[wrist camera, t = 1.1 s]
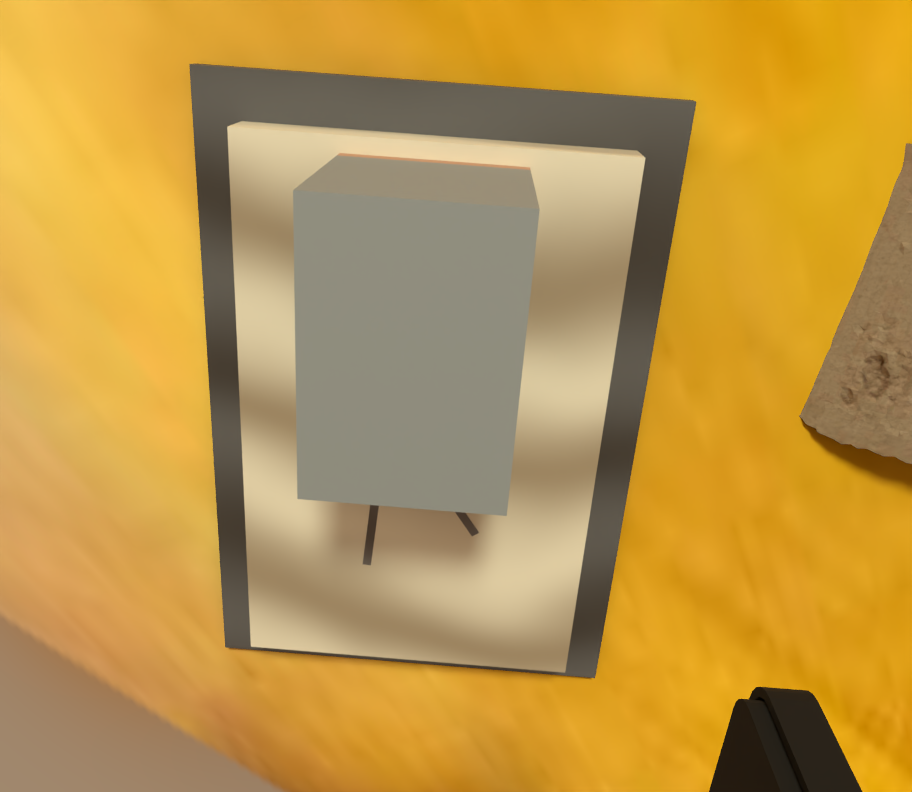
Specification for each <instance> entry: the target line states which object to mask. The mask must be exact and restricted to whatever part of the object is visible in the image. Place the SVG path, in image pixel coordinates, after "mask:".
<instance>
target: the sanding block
mask: <svg viewBox="0 0 912 792" xmlns="http://www.w3.org/2000/svg"><path fill="white" fill-rule="evenodd" d="M539 211H540V208H539V204H538V199H537V195H536V191H535V187H534V183H533V178H532V174H531V170H530V167H520V166H507V165H494V164H480V163H467V162H454V161H441V160H427V159H414V158H401V157H387V156H374V155H361V154H347V153H339V154H338V155H337V156H335V157H334V158H333V159H332V160H330V161H329V162H328V163H327V164H325V165H324V166H323V167H322V168H320V169H319V170H318V171H316V172H315V173H314V174H313V175H311V176H310V177H309V178H308V179H306V180H305V181H304V182H303V183H301V184H300V185H299V186H298V187H296V188H295V189H294V190H293V225H294V295H295V365H296V435H297V499H303V500H316V501H328V502H340V503H353V504H365V505H377V506H390V507H402V508H414V509H426V510H439V511H451V512H463V513H476V514H488V515H500V516H507V509H508V500H509V490H510V481H511V472H512V462H513V453H514V444H515V434H516V425H517V416H518V406H519V397H520V388H521V379H522V369H523V360H524V351H525V341H526V332H527V323H528V313H529V304H530V295H531V285H532V276H533V267H534V258H535V248H536V239H537V230H538V220H539Z"/></svg>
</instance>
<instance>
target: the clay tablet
mask: <svg viewBox="0 0 912 792" xmlns="http://www.w3.org/2000/svg"><path fill="white" fill-rule="evenodd" d="M800 417H801V418H802V419H803V421H804V422H805V424H807V425H809V426H811V427H813V428H816V430H817V432H818V433H820V434H823V435H825V436H827V437H829V438H832V439H834V440H835V441H837V442H839V443H840V444H851V445H853V446H854V447H856V448H857V449H861V448H864V449H868V450H870V451H872V452H874V453H876V454H880V455H882V456H894V457H896V458H898V459H899V460H901V461H904V462H905V463H910V464H912V144H907V143H906V148H905V157H904V162H903V167H902V170H901V172H900V174H899V177H898V179H897V181H896V183H895V186H894V189H893V192H892V195H891V197H890V201H889V204H888V207H887V209H886V212H885V214H884V217H883V220H882V222H881V225H880V227H879V229H878V232H877V234H876V236H875V238H874V241H873V243H872V246H871V249H870V251H869V254H868V257H867V260H866V262H865V265H864V268H863V271H862V273H861V275H860V278H859V280H858V283H857V285H856V288H855V290H854V292H853V295H852V297H851V299H850V301H849V303H848V306H847V308H846V310H845V312H844V315H843V317H842V319H841V322H840V323H839V326H838V328H837V331H836V333H835V336H834V338H833V341H832V344H831V348H830V350H829V352H828V353H827V355H826V357H825V360H824V362H823V365H822V367H821V369H820V371H819V374H818V376H817V378H816V381H815V383H814V386H813V389H812V391H811V393H810V395H809V398H808V400H807V402H806V404H805V406H804V408H803V410H802V413H801V415H800Z"/></svg>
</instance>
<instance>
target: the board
mask: <svg viewBox="0 0 912 792" xmlns="http://www.w3.org/2000/svg"><path fill="white" fill-rule="evenodd" d="M190 80H191V96H192V112H193V128H194V145H195V161H196V177H197V193H198V210H199V226H200V242H201V258H202V275H203V291H204V307H205V323H206V340H207V356H208V372H209V388H210V405H211V421H212V437H213V453H214V470H215V486H216V502H217V519H218V535H219V551H220V567H221V584H222V600H223V616H224V632H225V647H228V648H240V649H252V650H264V651H276V652H288V653H300V654H312V655H324V656H336V657H348V658H360V659H373V660H385V661H397V662H409V663H421V664H433V665H445V666H457V667H469V668H481V669H493V670H505V671H517V672H530V673H542V674H554V675H566V676H578V677H590V678H595V675H596V669H597V664H598V658H599V652H600V647H601V641H602V635H603V630H604V624H605V618H606V613H607V607H608V601H609V595H610V590H611V584H612V578H613V573H614V567H615V561H616V556H617V550H618V544H619V539H620V533H621V527H622V521H623V516H624V510H625V504H626V499H627V493H628V487H629V482H630V476H631V470H632V465H633V459H634V453H635V447H636V442H637V436H638V430H639V425H640V419H641V413H642V408H643V402H644V396H645V391H646V385H647V379H648V373H649V368H650V362H651V356H652V351H653V345H654V339H655V334H656V328H657V322H658V317H659V311H660V305H661V299H662V294H663V288H664V282H665V277H666V271H667V265H668V260H669V254H670V248H671V243H672V237H673V231H674V226H675V220H676V214H677V208H678V203H679V197H680V191H681V186H682V180H683V174H684V169H685V163H686V157H687V152H688V146H689V140H690V134H691V129H692V123H693V117H694V112H695V106H696V101H693V100H681V99H668V98H654V97H641V96H627V95H614V94H600V93H586V92H573V91H559V90H546V89H532V88H519V87H505V86H491V85H478V84H464V83H451V82H437V81H424V80H410V79H396V78H383V77H369V76H356V75H342V74H329V73H315V72H302V71H288V70H274V69H261V68H247V67H234V66H220V65H207V64H190ZM339 153H347V154H361V155H374V156H387V157H401V158H414V159H427V160H441V161H454V162H467V163H480V164H494V165H507V166H520V167H530V170H531V174H532V178H533V183H534V187H535V191H536V195H537V199H538V204H539V208H540V211H539V220H538V230H537V239H536V248H535V258H534V267H533V276H532V285H531V295H530V304H529V313H528V323H527V332H526V341H525V351H524V360H523V369H522V379H521V388H520V397H519V406H518V416H517V425H516V434H515V444H514V453H513V462H512V472H511V481H510V490H509V500H508V509H507V516H500V515H488V514H476V513H463V512H451V511H439V510H426V509H414V508H402V507H390V506H377V505H365V504H353V503H340V502H328V501H316V500H303V499H297V435H296V365H295V295H294V225H293V190H294V189H295V188H296V187H298V186H299V185H300V184H301V183H303V182H304V181H305V180H306V179H308V178H309V177H310V176H311V175H313V174H314V173H315V172H316V171H318V170H319V169H320V168H322V167H323V166H324V165H325V164H327V163H328V162H329V161H330V160H332V159H333V158H334V157H335V156H337V155H338V154H339Z"/></svg>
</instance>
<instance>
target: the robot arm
mask: <svg viewBox="0 0 912 792" xmlns="http://www.w3.org/2000/svg"><path fill="white" fill-rule="evenodd" d="M709 792H862V790H861V788H860V786H859V784H858V782H857V780H856V778H855V776H854V774H853V772H852V770H851V768H850V766H849V764H848V762H847V760H846V758H845V756H844V754H843V752H842V750H841V748H840V746H839V744H838V741H837V739H836V737H835V735H834V733H833V731H832V729H831V727H830V725H829V723H828V721H827V719H826V717H825V715H824V713H823V711H822V709H821V707H820V705H819V703H818V701H817V700H816V698H815V696H814V695H813V694H812V693H810V692H809V691H805V690H792V689H780V688H767V687H756V688H755V689H754V690H753V691H752V693H751V696H750V698H749V700H748V699H738V700H737V702H736V703H735V706H734V708H733V712H732V715H731V719H730V722H729V725H728V729H727V732H726V736H725V739H724V743H723V746H722V749H721V753H720V756H719V760H718V763H717V766H716V770H715V773H714V777H713V780H712V784H711V787H710V790H709Z"/></svg>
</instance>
